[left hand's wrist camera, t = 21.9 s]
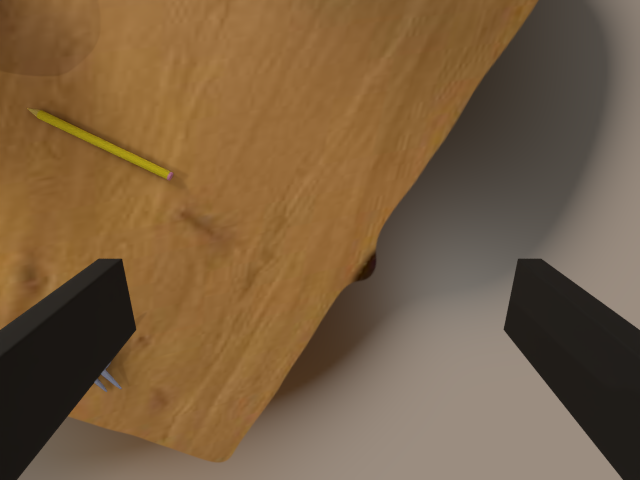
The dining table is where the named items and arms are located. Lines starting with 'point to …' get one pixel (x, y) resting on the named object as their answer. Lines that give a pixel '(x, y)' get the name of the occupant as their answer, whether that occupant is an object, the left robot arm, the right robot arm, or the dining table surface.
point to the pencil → (101, 143)
